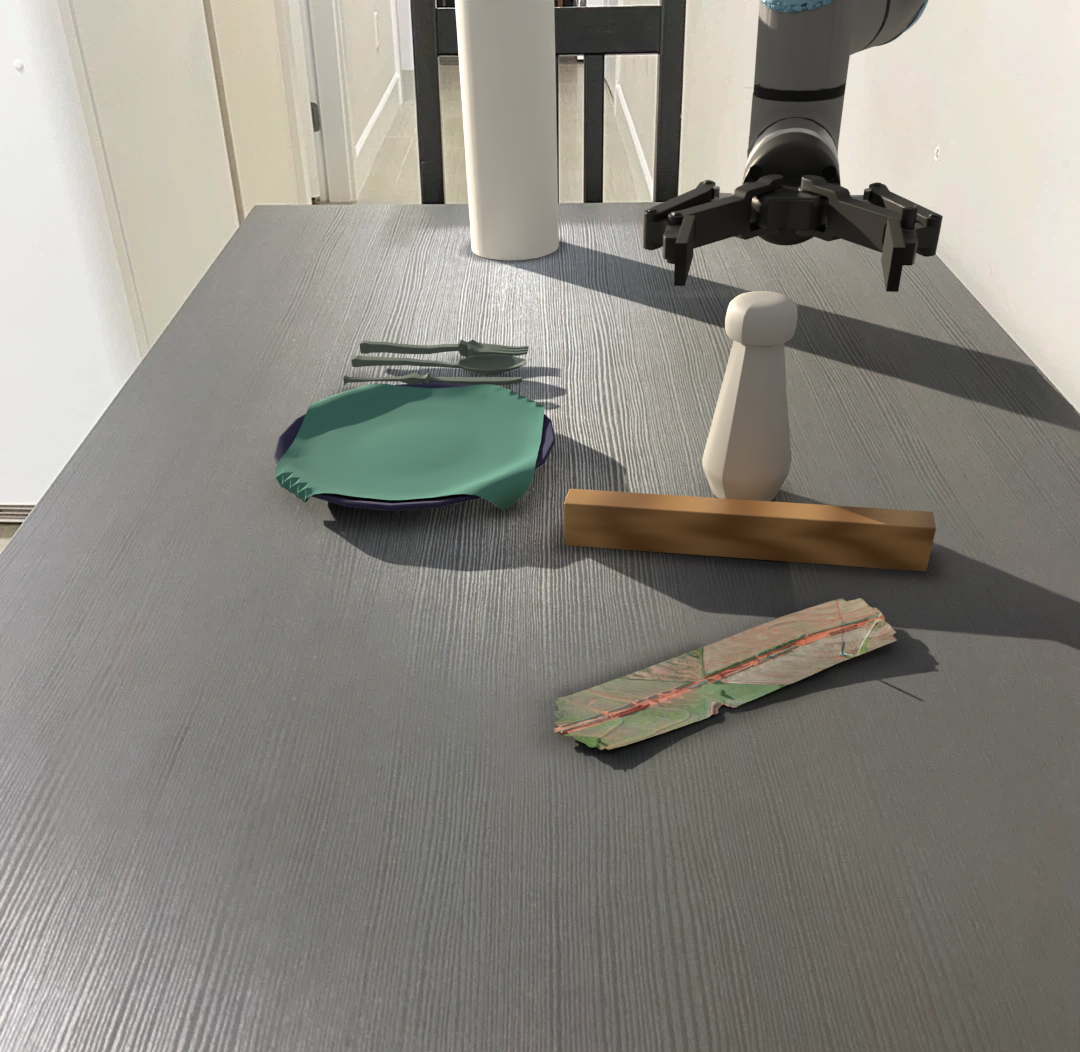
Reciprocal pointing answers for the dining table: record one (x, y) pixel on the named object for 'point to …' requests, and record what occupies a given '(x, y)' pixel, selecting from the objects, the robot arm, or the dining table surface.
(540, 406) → the cutlery set
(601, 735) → the map
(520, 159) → the cylinder container
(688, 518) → the long wooden block
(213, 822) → the dining table surface
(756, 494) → the salt shaker
